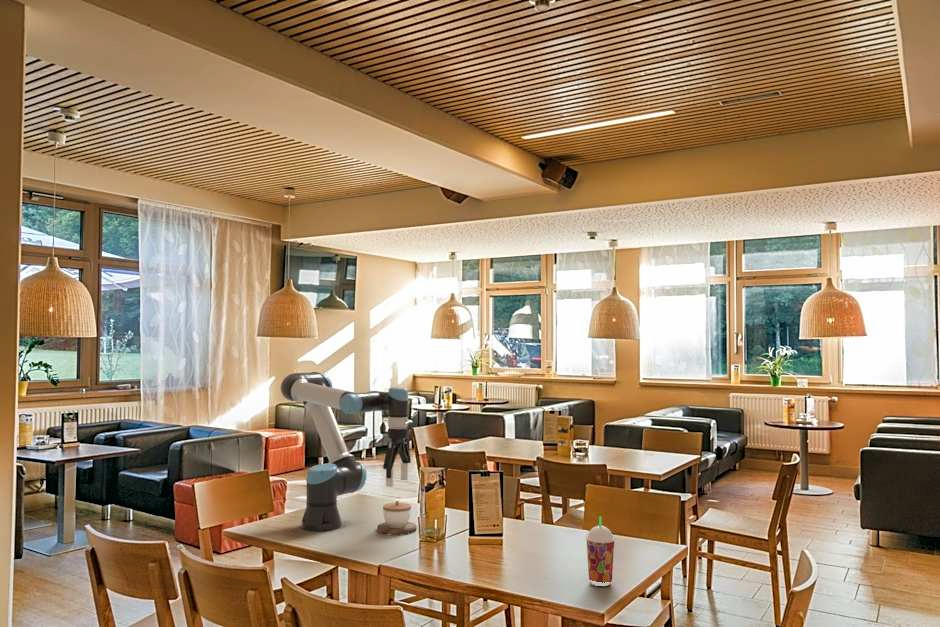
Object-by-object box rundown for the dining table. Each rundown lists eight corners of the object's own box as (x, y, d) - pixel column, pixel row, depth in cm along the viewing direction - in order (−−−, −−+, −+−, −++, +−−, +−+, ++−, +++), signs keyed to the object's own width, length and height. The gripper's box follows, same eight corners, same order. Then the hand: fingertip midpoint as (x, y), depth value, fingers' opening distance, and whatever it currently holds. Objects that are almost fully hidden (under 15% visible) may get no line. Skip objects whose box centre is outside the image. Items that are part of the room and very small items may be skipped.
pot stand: (370, 533, 271) (370, 529, 271) (387, 523, 285) (387, 519, 285) (407, 536, 266) (407, 532, 266) (422, 526, 281) (422, 523, 281)
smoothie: (611, 579, 220) (611, 513, 220) (617, 588, 211) (617, 520, 212) (583, 579, 219) (583, 513, 220) (589, 589, 211) (589, 520, 212)
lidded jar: (378, 528, 272) (378, 503, 273) (389, 521, 283) (389, 497, 283) (404, 530, 269) (404, 505, 270) (415, 523, 280) (415, 499, 280)
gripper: (393, 432, 264) (392, 490, 264) (419, 424, 288) (418, 478, 287) (374, 431, 267) (373, 488, 266) (402, 423, 290) (401, 476, 290)
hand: (397, 483), depth 277 cm, fingers open, 13 cm apart
